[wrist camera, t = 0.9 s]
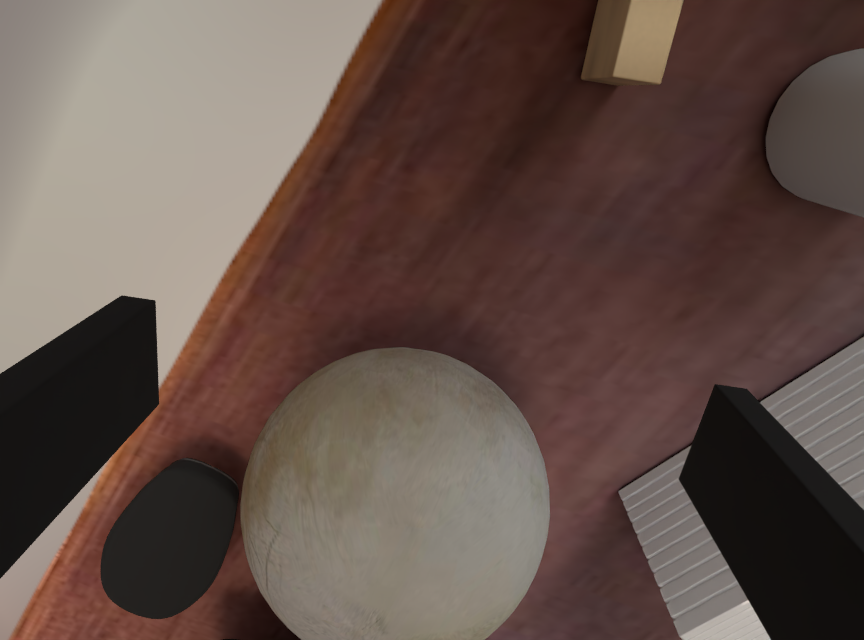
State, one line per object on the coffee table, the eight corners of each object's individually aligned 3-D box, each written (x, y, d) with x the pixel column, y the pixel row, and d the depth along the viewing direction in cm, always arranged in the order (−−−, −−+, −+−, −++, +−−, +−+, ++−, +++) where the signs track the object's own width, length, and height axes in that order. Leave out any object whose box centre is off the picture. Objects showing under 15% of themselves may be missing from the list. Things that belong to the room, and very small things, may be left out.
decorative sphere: (446, 547, 40) (444, 795, 26) (248, 448, 37) (128, 663, 23) (577, 384, 35) (663, 582, 21) (360, 257, 32) (293, 384, 18)
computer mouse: (149, 450, 33) (178, 416, 37) (76, 594, 36) (110, 550, 40) (260, 503, 34) (277, 465, 38) (180, 638, 38) (203, 591, 41)
